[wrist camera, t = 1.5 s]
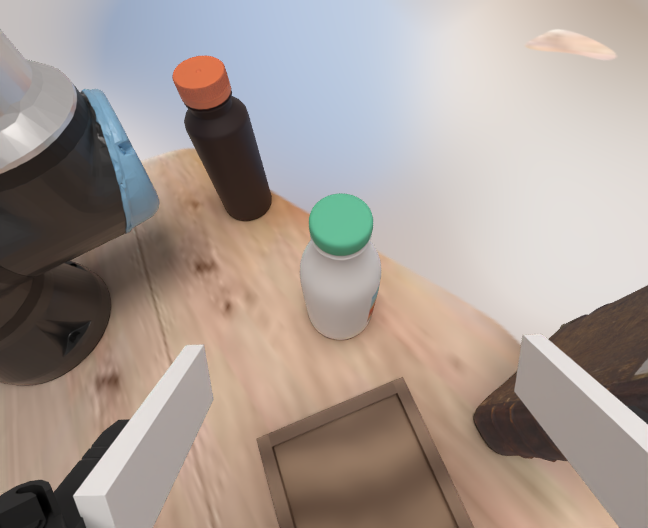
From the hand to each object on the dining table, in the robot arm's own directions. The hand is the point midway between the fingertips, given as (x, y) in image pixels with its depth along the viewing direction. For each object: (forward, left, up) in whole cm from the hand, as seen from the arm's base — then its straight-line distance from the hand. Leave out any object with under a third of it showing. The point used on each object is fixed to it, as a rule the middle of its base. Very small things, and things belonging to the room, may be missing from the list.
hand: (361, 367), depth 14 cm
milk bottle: (-11, +3, -25) cm, 28 cm away
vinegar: (-31, -3, -25) cm, 40 cm away
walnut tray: (+7, -2, -25) cm, 26 cm away
